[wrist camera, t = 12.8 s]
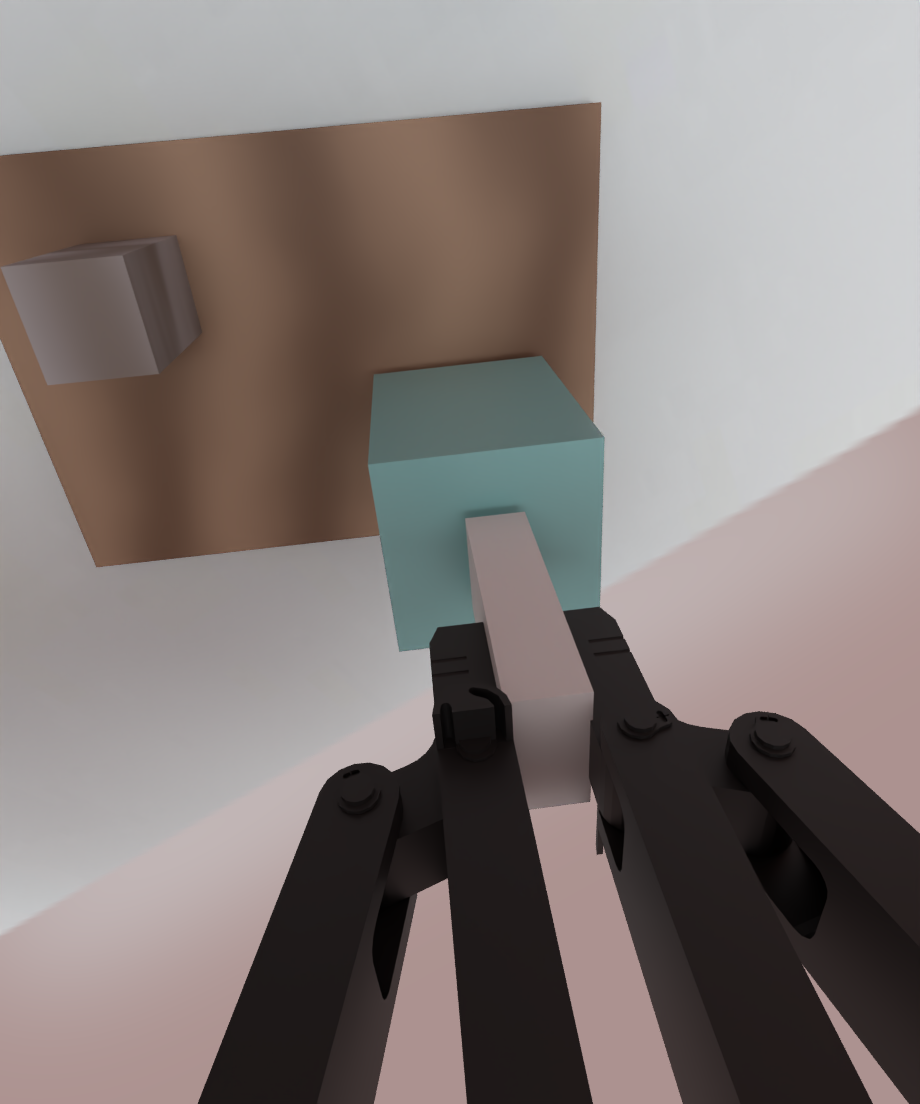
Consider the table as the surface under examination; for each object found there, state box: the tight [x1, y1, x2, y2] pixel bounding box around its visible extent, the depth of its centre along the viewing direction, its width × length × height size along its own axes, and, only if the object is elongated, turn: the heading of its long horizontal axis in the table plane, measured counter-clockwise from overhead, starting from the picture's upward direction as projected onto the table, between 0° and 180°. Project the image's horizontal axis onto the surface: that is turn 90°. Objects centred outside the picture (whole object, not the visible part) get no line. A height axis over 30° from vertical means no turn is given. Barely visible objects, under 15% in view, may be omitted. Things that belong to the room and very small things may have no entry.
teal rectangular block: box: [368, 356, 604, 652], centre depth 21 cm, size 6×6×8 cm
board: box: [0, 102, 601, 567], centre depth 22 cm, size 20×14×6 cm
